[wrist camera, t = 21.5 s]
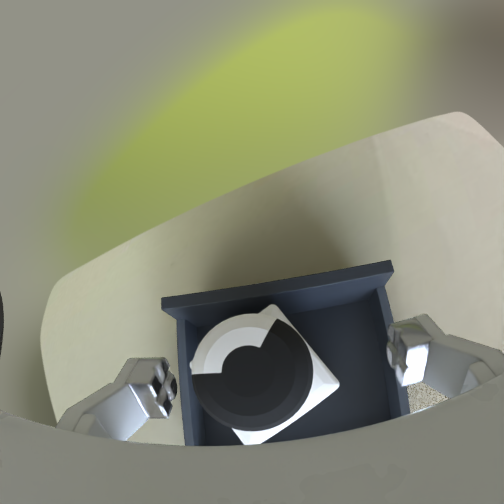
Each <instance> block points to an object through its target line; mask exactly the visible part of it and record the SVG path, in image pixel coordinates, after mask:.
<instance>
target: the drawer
mask: <svg viewBox="0 0 504 504" xmlns="http://www.w3.org/2000/svg"><path fill="white" fill-rule="evenodd" d="M393 273H394V269H393V266H392V263H391V260H387V261H382V262H377V263H372V264H367V265H361V266H356V267H351V268H345V269H340V270H334V271H329V272H323V273H318V274H312V275H306V276H301V277H295V278H289V279H283V280H277V281H271V282H265V283H259V284H252V285H246V286H239V287H233V288H226V289H220V290H213V291H206V292H199V293H192V294H185V295H178V296H171V297H163V298H161V309H162V310H163V311H164V312H166V313H167V314H169V315H170V316H172V317H173V318H175V319H176V320H177V348H178V367H179V383H180V397H181V409H182V420H183V430H184V439H185V446H233V445H244V444H243V442H242V441H241V440H240V438H239V437H238V436H237V435H236V433H235V432H234V430H233V429H232V428H230V427H227V426H225V425H223V424H221V423H220V422H218V421H217V420H215V419H214V418H213V417H211V416H210V415H209V414H208V413H207V412H206V410H205V409H204V408H203V407H202V405H201V404H200V402H199V400H198V398H197V396H196V394H195V391H194V387H193V383H192V369H191V368H190V362H191V361H192V360H193V358H194V355H195V352H196V350H197V348H198V346H199V344H200V343H201V341H202V340H203V338H204V337H205V336H206V335H207V333H208V332H209V331H210V330H211V329H213V328H214V327H215V326H216V325H218V324H219V323H221V322H223V321H225V320H227V319H229V318H231V317H234V316H238V315H243V314H258V313H260V312H261V311H262V310H264V309H265V308H267V307H268V306H269V305H271V304H274V305H276V306H277V307H278V308H279V309H280V310H281V312H282V313H283V314H284V315H285V317H286V318H287V319H288V320H289V321H290V323H291V324H292V325H293V326H294V328H295V329H296V330H297V331H298V332H299V334H300V335H301V336H302V337H303V339H304V340H305V341H306V342H307V343H308V345H309V346H310V347H311V348H312V349H313V351H314V352H315V353H316V354H317V356H318V357H319V358H320V359H321V360H322V362H323V363H324V364H325V365H326V366H327V368H328V369H329V370H330V371H331V372H332V374H333V375H334V376H335V377H336V378H337V380H338V381H339V387H338V388H337V389H336V390H335V391H334V392H333V393H331V394H330V395H329V396H328V397H326V398H325V399H324V400H322V401H321V402H320V403H319V404H317V405H316V406H315V407H313V408H312V409H311V410H309V411H308V412H307V413H305V414H304V415H302V416H301V417H300V418H298V419H297V420H295V421H294V422H293V423H291V424H290V425H288V426H287V427H285V428H284V429H282V430H281V431H279V432H278V433H276V434H275V435H273V436H272V437H270V438H269V439H267V440H265V441H264V442H262V443H261V444H264V443H274V442H283V441H291V440H298V439H305V438H312V437H318V436H323V435H329V434H334V433H339V432H344V431H348V430H353V429H357V428H361V427H365V426H369V425H373V424H377V423H381V422H384V421H388V420H391V419H395V418H398V417H401V416H404V415H407V414H410V408H409V400H408V394H407V387H406V386H404V387H401V385H400V383H399V381H398V379H397V377H396V376H395V375H396V370H395V369H393V368H391V366H390V364H389V362H388V359H387V352H386V350H387V343H388V341H389V340H390V337H389V336H388V334H387V332H388V326H389V324H392V323H394V321H393V317H392V313H391V309H390V305H389V301H388V297H387V294H386V290H385V284H386V283H387V281H388V280H389V279H390V277H391V276H392V274H393Z"/></svg>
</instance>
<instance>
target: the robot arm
mask: <svg viewBox="0 0 504 504" xmlns="http://www.w3.org/2000/svg"><path fill="white" fill-rule="evenodd" d="M387 334H388V336H389V337H390V340H389V341H388V343H387V350H386V352H387V359H388V362H389V364H390V366H391V368H393V369H395V370H396V375H395V376H396V377H397V379H398V381H399V383H400V385H401V387H404V386H408V385H411V384H415V383H418V382H421V381H423V383H425V384H427V385H428V386H430V387H432V388H433V389H435V390H437V391H438V392H440V393H442V394H443V395H445V396H447V397H448V398H450V399H448V400H445V401H443V402H440V403H438V404H435V405H433V406H430V407H427V408H425V409H422V410H419V411H416V412H413V413H410V414H407V415H404V416H401V417H398V418H395V419H391V420H388V421H384V422H381V423H377V424H373V425H369V426H365V427H361V428H357V429H353V430H348V431H344V432H339V433H334V434H329V435H323V436H318V437H312V438H305V439H298V440H291V441H283V442H274V443H264V444H251V445H233V446H179V445H161V444H149V443H138V442H130V441H126V440H127V439H128V438H129V437H130V436H131V435H132V434H133V433H135V432H136V431H137V430H138V429H139V428H140V427H141V426H142V425H143V424H144V423H145V422H146V421H147V420H148V418H157V419H168V418H169V415H170V412H171V409H172V404H171V401H172V400H173V399H175V397H176V394H177V383H176V379H175V377H174V375H173V374H172V373H171V372H169V371H168V369H169V367H170V365H169V363H168V361H167V359H166V358H164V357H154V358H130V359H128V360H127V361H126V363H125V365H124V366H123V368H122V369H121V371H120V373H119V374H118V376H117V378H116V379H115V381H114V383H109V384H108V385H106V386H104V387H103V388H101V389H100V390H98V391H96V392H95V393H93V394H91V395H90V396H88V397H87V398H85V399H83V400H82V401H80V402H78V403H77V404H75V405H73V406H72V407H70V408H68V409H67V410H66V411H65V413H64V414H63V416H62V417H61V419H60V420H59V422H58V423H57V425H56V427H51V426H48V425H44V424H40V423H37V422H34V421H30V420H27V419H24V418H21V417H18V416H15V415H12V414H10V413H7V412H4V411H2V410H0V504H504V354H503V353H502V352H501V351H500V350H498V349H495V348H492V347H488V346H485V345H482V344H479V343H475V342H472V341H469V340H466V339H463V338H459V337H456V336H453V335H450V334H449V335H445V333H444V332H443V331H442V330H441V329H440V328H439V327H438V326H437V325H436V324H435V322H434V321H433V320H432V319H431V318H430V317H429V316H428V315H427V314H422V315H419V316H416V317H413V318H410V319H407V320H403V321H399V322H396V323H392V324H389V326H388V332H387Z"/></svg>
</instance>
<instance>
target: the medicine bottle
mask: <svg viewBox="0 0 504 504" xmlns="http://www.w3.org/2000/svg"><path fill="white" fill-rule="evenodd" d="M190 368H191V369H192V383H193V387H194V391H195V394H196V396H197V398H198V400H199V402H200V404H201V405H202V407H203V408H204V409H205V410H206V412H207V413H208V414H209V415H210V416H211V417H213V418H214V419H215V420H217V421H218V422H220V423H221V424H223V425H225V426H227V427H230V428H232V429H233V430H234V432H235V433H236V435H237V436H238V437H239V438H240V440H241V441H242V442H243V444H244V445H251V444H261V443H262V442H264V441H265V440H267V439H269V438H270V437H272V436H273V435H275V434H276V433H278V432H279V431H281V430H282V429H284V428H285V427H287V426H288V425H290V424H291V423H293V422H294V421H295V420H297V419H298V418H300V417H301V416H302V415H304V414H305V413H307V412H308V411H309V410H311V409H312V408H313V407H315V406H316V405H317V404H319V403H320V402H321V401H322V400H324V399H325V398H326V397H328V396H329V395H330V394H331V393H333V392H334V391H335V390H336V389H337V388H338V387H339V381H338V380H337V378H336V377H335V376H334V375H333V374H332V372H331V371H330V370H329V369H328V368H327V366H326V365H325V364H324V363H323V362H322V360H321V359H320V358H319V357H318V356H317V354H316V353H315V352H314V351H313V349H312V348H311V347H310V346H309V345H308V343H307V342H306V341H305V340H304V339H303V337H302V336H301V335H300V334H299V332H298V331H297V330H296V329H295V328H294V326H293V325H292V324H291V323H290V321H289V320H288V319H287V318H286V317H285V315H284V314H283V313H282V312H281V310H280V309H279V308H278V307H277V306H276V305H274V304H271V305H269V306H268V307H267V308H265V309H264V310H262V311H261V312H260V313H258V314H243V315H238V316H234V317H231V318H229V319H227V320H225V321H223V322H221V323H219V324H218V325H216V326H215V327H214V328H213V329H211V330H210V331H209V332H208V333H207V335H206V336H205V337H204V338H203V340H202V341H201V343H200V344H199V346H198V348H197V350H196V352H195V355H194V358H193V360H192V361H191V362H190Z"/></svg>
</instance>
